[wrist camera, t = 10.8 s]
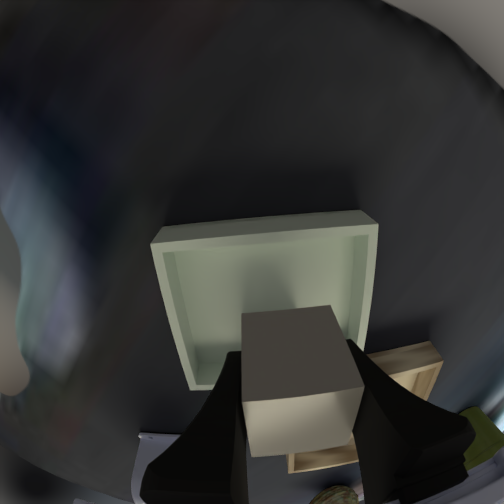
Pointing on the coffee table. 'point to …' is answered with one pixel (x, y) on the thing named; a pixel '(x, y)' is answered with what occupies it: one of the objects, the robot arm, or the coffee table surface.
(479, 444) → the plant pot
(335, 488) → the seashell
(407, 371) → the birch bin
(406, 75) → the coffee table surface
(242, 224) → the green bin
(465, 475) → the robot arm
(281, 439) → the stone
